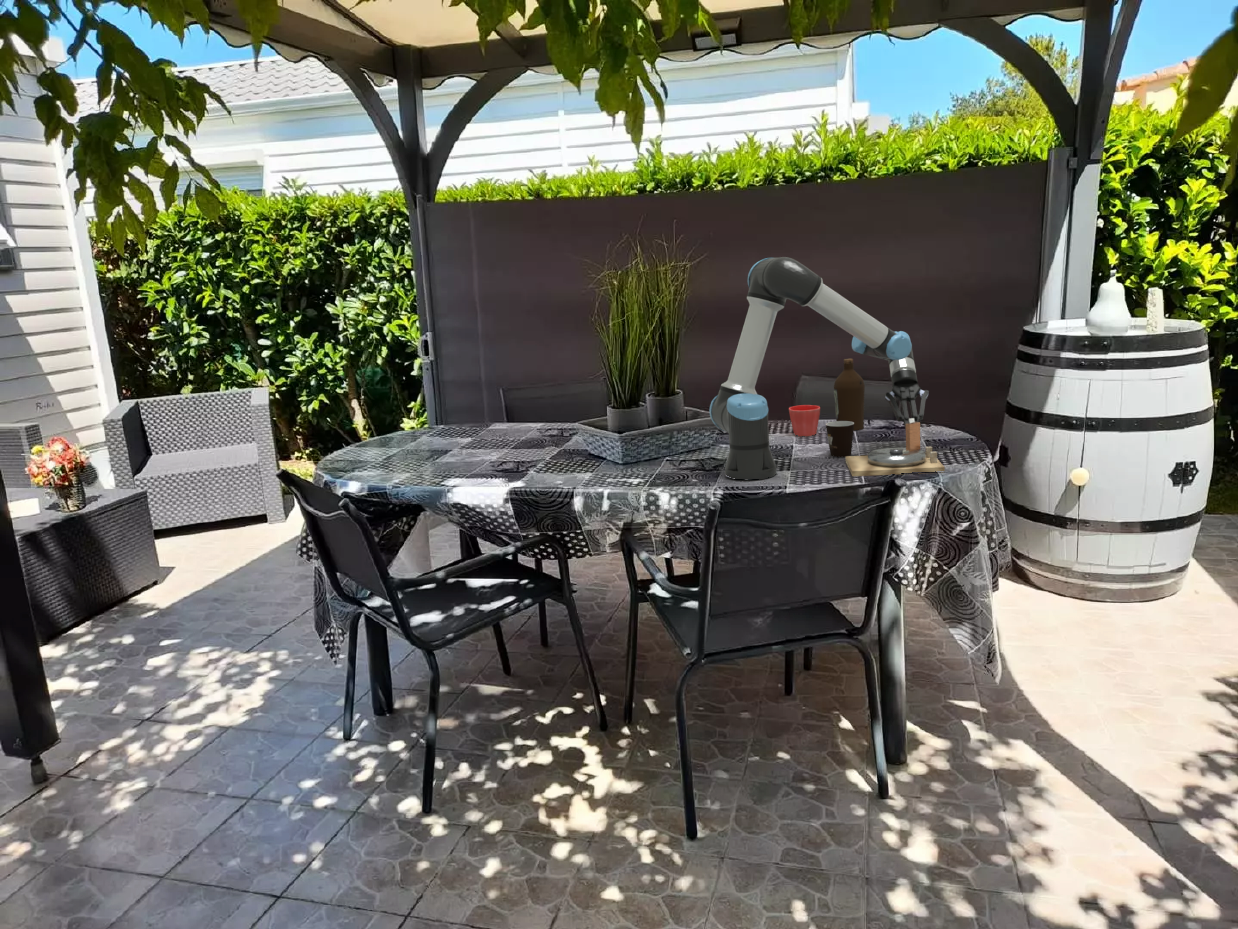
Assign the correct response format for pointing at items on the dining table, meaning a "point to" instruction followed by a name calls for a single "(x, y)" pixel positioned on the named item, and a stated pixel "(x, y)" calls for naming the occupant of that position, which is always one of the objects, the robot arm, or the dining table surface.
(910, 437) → the disc
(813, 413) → the flower pot
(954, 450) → the dining table surface
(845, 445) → the coffee mug
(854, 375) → the olive oil
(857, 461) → the tan record player
